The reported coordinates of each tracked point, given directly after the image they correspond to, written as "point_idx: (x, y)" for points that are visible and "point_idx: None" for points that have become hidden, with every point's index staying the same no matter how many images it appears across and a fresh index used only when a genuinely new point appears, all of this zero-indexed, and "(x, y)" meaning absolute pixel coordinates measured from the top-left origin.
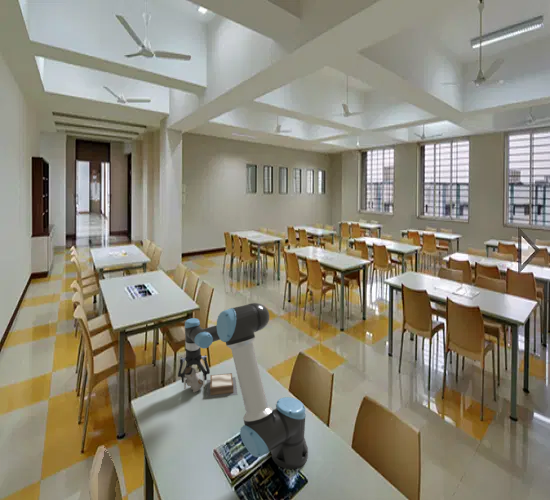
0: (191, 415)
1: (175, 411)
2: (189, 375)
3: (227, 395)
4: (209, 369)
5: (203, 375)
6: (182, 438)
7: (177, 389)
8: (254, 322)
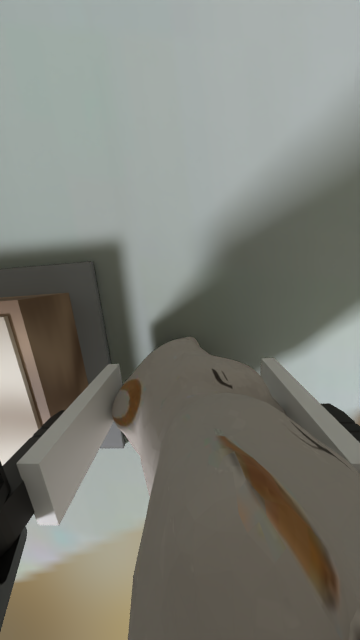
0: (178, 39)
1: (321, 115)
2: (340, 523)
3: None
4: None
5: (31, 474)
6: None
7: (307, 388)
8: None
